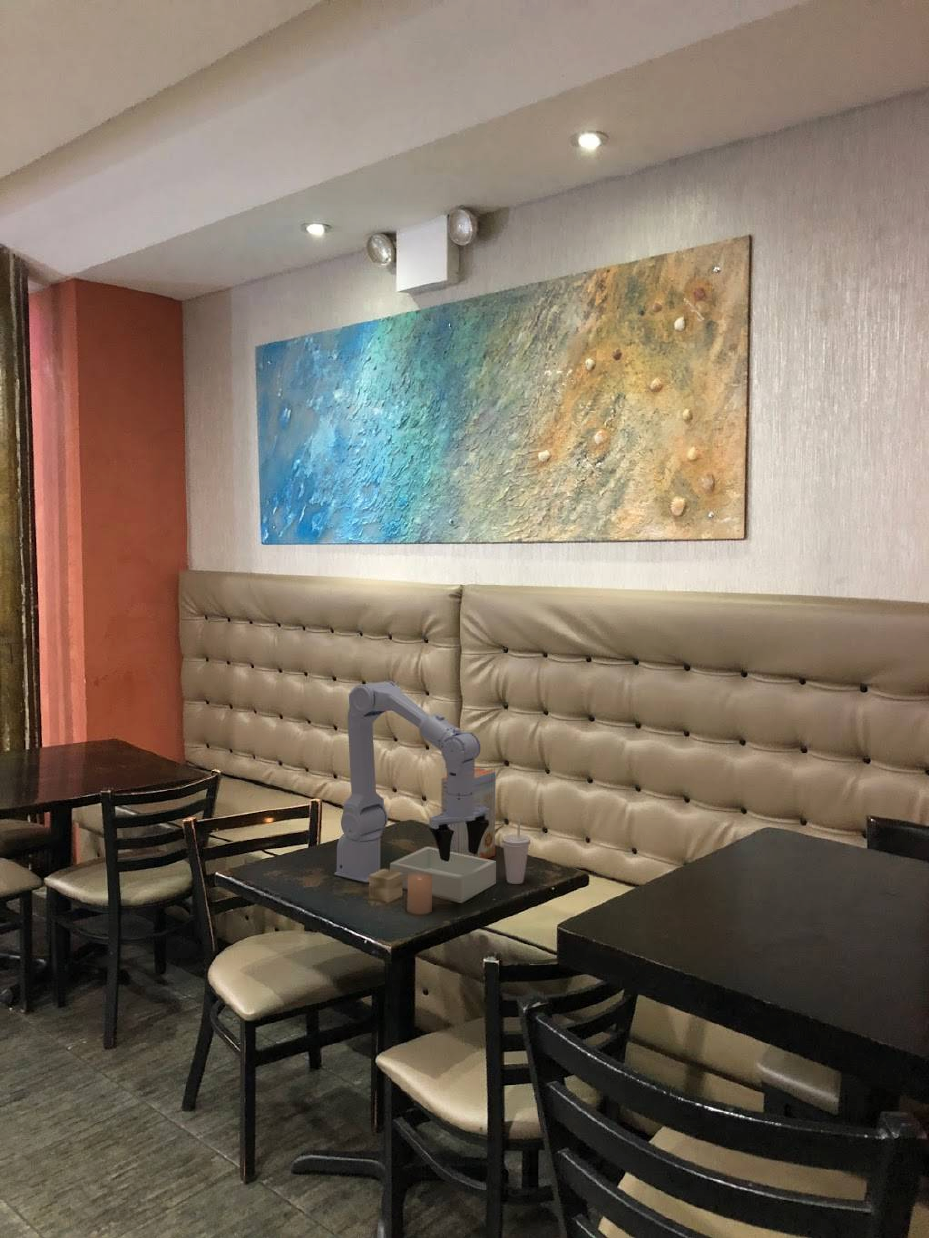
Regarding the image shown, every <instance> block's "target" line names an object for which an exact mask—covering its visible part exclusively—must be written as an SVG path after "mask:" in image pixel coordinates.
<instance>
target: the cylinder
mask: <svg viewBox="0 0 929 1238" xmlns="http://www.w3.org/2000/svg"><path fill="white" fill-rule="evenodd" d="M406 901H407V902H406V903H407V904H406V905H407V906H406V908H407V909H406V910H407V912H408V913H409V914H412V915H426V914H429V913H431V912H432V910H433V909H432V908H433V896H432V875H431V874H429V873H425V872H415V873H411V874H409V875H408V890H407V900H406Z"/></svg>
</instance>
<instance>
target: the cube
mask: <svg viewBox="0 0 929 1238" xmlns="http://www.w3.org/2000/svg"><path fill="white" fill-rule="evenodd" d="M368 883H369V886H368V887H369V888H368V892H369V893H368V894H369V895H368V899H372V900H375V901H380V902H383V903H387V904H389V903H391V902H393V901H396V900H397V899H398V898H401V897H403V889H402V885H403V873H400V872H396V871H391V870H390V869H387V868H382V870H380V871H378V872H375V873H373V874H371V875H369V882H368Z"/></svg>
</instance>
